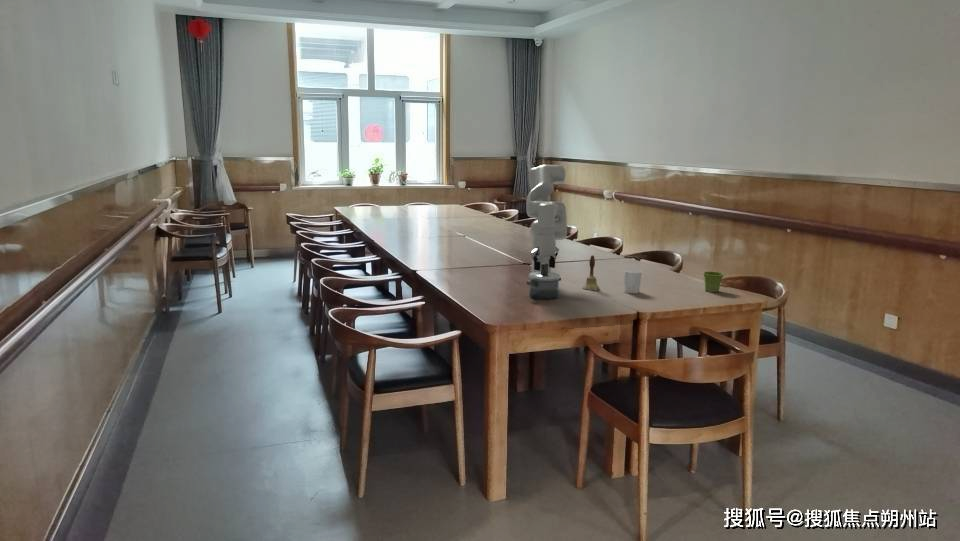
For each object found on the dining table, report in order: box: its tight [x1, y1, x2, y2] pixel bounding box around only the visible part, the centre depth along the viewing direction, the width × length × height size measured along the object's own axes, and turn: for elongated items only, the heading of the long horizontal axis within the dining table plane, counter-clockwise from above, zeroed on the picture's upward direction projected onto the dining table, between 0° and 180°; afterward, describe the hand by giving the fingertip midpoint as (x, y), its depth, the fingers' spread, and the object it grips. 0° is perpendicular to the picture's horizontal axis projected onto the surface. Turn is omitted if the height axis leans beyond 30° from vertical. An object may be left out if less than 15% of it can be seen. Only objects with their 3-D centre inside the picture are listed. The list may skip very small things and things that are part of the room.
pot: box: [526, 277, 562, 301], centre depth 292 cm, size 18×13×9 cm
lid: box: [528, 263, 561, 280], centre depth 290 cm, size 14×14×6 cm
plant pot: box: [702, 271, 725, 293], centre depth 306 cm, size 9×9×9 cm
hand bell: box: [582, 255, 601, 291], centre depth 308 cm, size 8×8×16 cm
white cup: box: [623, 269, 642, 294], centre depth 302 cm, size 8×8×10 cm
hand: (544, 268), depth 290 cm, fingers open, 9 cm apart
